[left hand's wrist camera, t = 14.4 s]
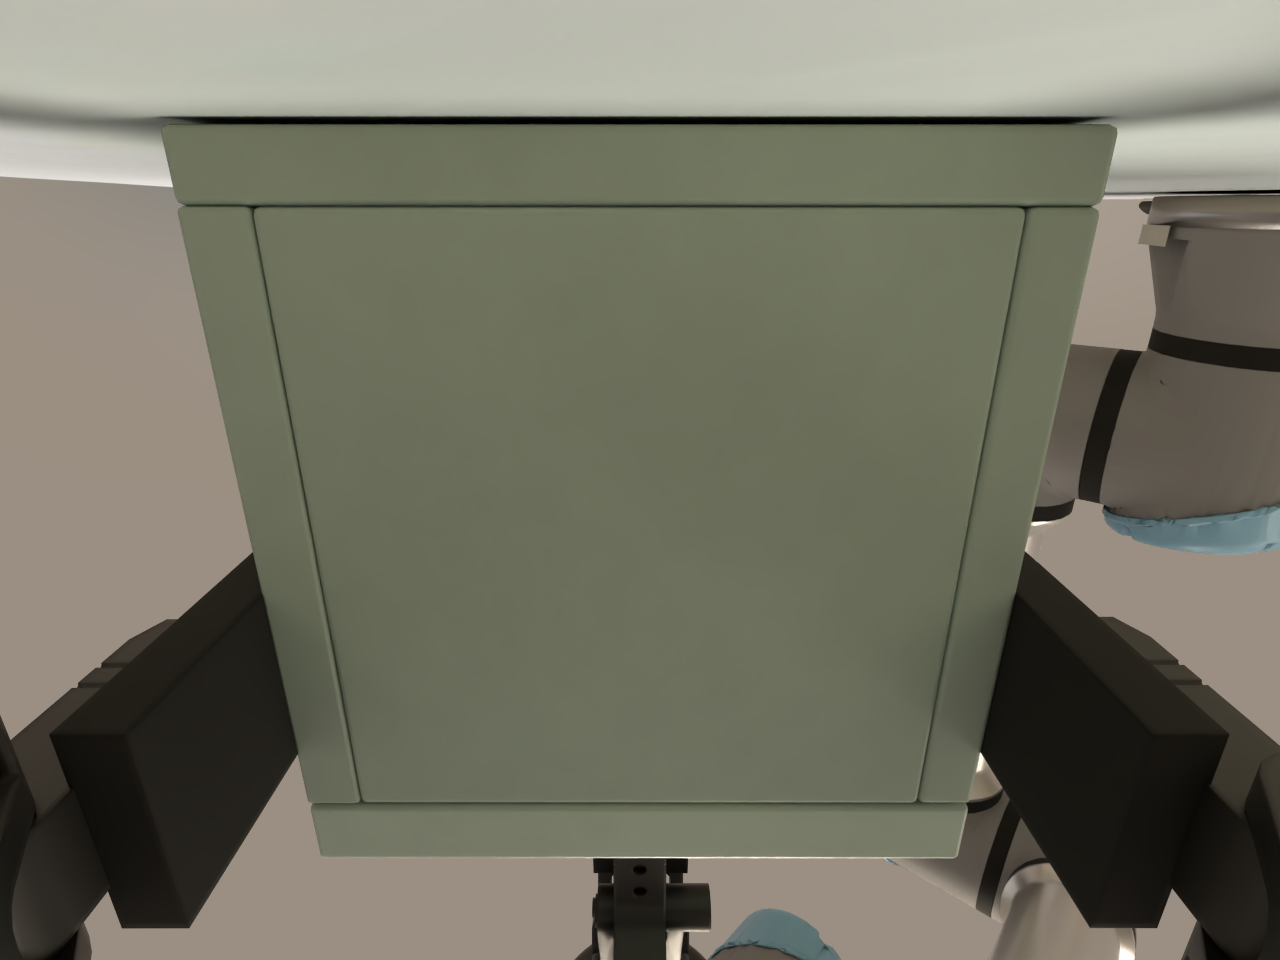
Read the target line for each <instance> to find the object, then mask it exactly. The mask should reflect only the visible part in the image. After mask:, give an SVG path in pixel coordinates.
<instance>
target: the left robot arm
mask: <svg viewBox="0 0 1280 960" xmlns="http://www.w3.org/2000/svg"><path fill="white" fill-rule="evenodd" d="M101 664H102V665H101V668H95V669H94V670H93V671H92V672H90V673H89V674H88V675H87V676H86V677H85V678H83V679H82V680H81V681H80V682H79V683H78V687H77V688H72V689H70V690H69V691H68V692H67V693H66V694H64V695H63V696H62V697H61V698H60V699H59V700H57V701H56V702H55V703H54V704H53V705H51V706H50V707H49V708H48V709H47V710H46V711H44V712H43V713H42V714H41V715H40V716H39V717H37V718H36V719H35V720H34V721H33V722H31V723H30V724H29V725H28V726H27V727H26V728H24V729H23V730H22V731H21V732H20V733H19V734H17V735H16V736H15V737H14V738H13V739H11V740H10V738H9V736H8V733H7V731H6V729H5V726H4V723H3V721H2V719H1V716H0V960H91V954H92V950H91V944H90V938H89V934H88V932H87V929H86V927H85V924H84V921H85V920H86V918H87V917H88V916H89V915H90V913H91V912H92V911H93V909H94V908H95V907H96V906H97V904H98V903H99V902H100V900H101V899H102V898H103V897H104V895H105V894H106V893H107V891H108V892H109V895H110V898H111V900H112V903H113V906H114V908H115V911H116V914H117V916H118V919H119V922H120V924H121V927H122V928H190V926H191V924H192V923H193V921H194V920H195V918H196V916H197V915H198V913H199V912H200V910H201V908H202V907H203V905H204V904H205V902H206V900H207V899H208V897H209V896H210V894H211V892H212V891H213V889H214V888H215V886H216V884H217V883H218V881H219V880H220V878H221V876H222V875H223V873H224V872H225V870H226V868H227V867H228V865H229V864H230V862H231V860H232V859H233V857H234V856H235V854H236V852H237V851H238V849H239V847H240V846H241V844H242V843H243V841H244V839H245V838H246V836H247V835H248V833H249V831H250V830H251V828H252V827H253V825H254V823H255V822H256V820H257V819H258V817H259V815H260V814H261V812H262V811H263V809H264V807H265V806H266V804H267V802H268V801H269V799H270V798H271V796H272V795H273V793H274V791H275V790H276V788H277V787H278V785H279V783H280V782H281V780H282V779H283V777H284V775H285V774H286V772H287V771H288V769H289V767H290V766H291V764H292V762H293V761H294V759H295V758H296V756H297V754H298V751H297V747H296V742H295V738H294V733H293V729H292V724H291V720H290V715H289V711H288V706H287V702H286V697H285V693H284V688H283V684H282V679H281V675H280V670H279V666H278V661H277V657H276V652H275V648H274V643H273V638H272V634H271V629H270V625H269V620H268V616H267V611H266V607H265V602H264V598H263V594H262V591H261V586H260V582H259V577H258V573H257V568H256V564H255V559H254V555H253V552H252V553H251V554H250V555H249V556H248V557H247V558H246V559H245V560H244V561H242V562H241V563H240V564H239V565H238V566H237V567H236V568H235V569H233V570H232V571H231V572H230V573H229V574H228V575H227V576H226V577H225V578H223V579H222V580H221V581H220V582H219V583H218V584H217V585H216V586H215V587H213V588H212V589H211V590H210V591H209V592H208V593H207V594H206V595H204V596H203V597H202V598H201V599H200V600H199V601H198V602H197V603H195V604H194V605H193V606H192V607H191V608H190V609H189V610H188V611H187V612H185V613H184V614H183V615H182V616H181V617H180V618H179V619H167V620H165V621H163V622H161V623H159V624H157V625H156V626H154V627H152V628H150V629H148V630H146V631H144V632H142V633H141V634H139V635H137V636H135V637H133V638H131V639H129V640H128V641H127V642H126V643H125V644H123V645H122V646H121V647H120V648H119V649H118V650H116V651H115V652H114V653H113V654H112V655H110V656H109V657H108V658H107V659H106V660H105V661H103V662H102V663H101ZM980 753H981V754H982V756H983V757H984V759H985V761H986V762H987V764H988V765H989V767H990V769H991V770H992V772H993V773H994V775H995V777H996V778H997V780H998V781H999V783H1000V785H1001V786H1002V788H1003V789H1004V791H1005V793H1006V794H1007V796H1008V797H1009V799H1010V801H1011V802H1012V804H1013V805H1014V807H1015V809H1016V810H1017V812H1018V813H1019V815H1020V817H1021V818H1022V820H1023V821H1024V823H1025V825H1026V826H1027V828H1028V830H1029V831H1030V833H1031V834H1032V836H1033V838H1034V839H1035V841H1036V842H1037V844H1038V846H1039V847H1040V849H1041V850H1042V852H1043V854H1044V855H1045V857H1046V858H1047V860H1048V862H1049V863H1050V865H1051V866H1052V868H1053V870H1054V871H1055V873H1056V874H1057V876H1058V878H1059V879H1060V881H1061V882H1062V884H1063V886H1064V887H1065V889H1066V890H1067V892H1068V894H1069V895H1070V897H1071V899H1072V900H1073V902H1074V903H1075V905H1076V907H1077V908H1078V910H1079V911H1080V913H1081V915H1082V916H1083V918H1084V919H1085V921H1086V923H1087V924H1088V926H1089V927H1090V928H1157V927H1158V924H1159V921H1160V919H1161V916H1162V913H1163V911H1164V908H1165V906H1166V903H1167V900H1168V898H1169V895H1170V892H1171V890H1172V889H1173V890H1174V891H1175V892H1176V894H1177V895H1178V896H1179V898H1180V899H1181V900H1182V901H1183V903H1184V904H1185V905H1186V907H1187V908H1188V909H1189V910H1190V912H1191V913H1192V914H1193V915H1194V917H1195V918H1196V919H1197V922H1196V924H1195V927H1194V930H1193V932H1192V934H1191V937H1190V939H1189V942H1188V944H1187V947H1186V949H1185V952H1184V954H1183V957H1182V959H1181V960H1280V746H1279V745H1278V744H1277V743H1276V742H1275V741H1273V740H1272V739H1271V738H1270V737H1269V736H1267V735H1266V734H1265V733H1264V732H1263V731H1262V730H1260V729H1259V728H1258V727H1257V726H1256V725H1255V724H1253V723H1252V722H1251V721H1250V720H1249V719H1247V718H1246V717H1245V716H1244V715H1243V714H1241V713H1240V712H1239V711H1238V710H1237V709H1235V708H1234V707H1233V706H1232V705H1231V704H1230V703H1228V702H1227V701H1226V700H1225V699H1224V698H1222V697H1221V696H1220V695H1219V694H1218V693H1217V692H1215V691H1214V690H1213V689H1212V688H1210V687H1209V686H1208V685H1202V680H1201V679H1200V678H1199V677H1198V676H1196V675H1195V674H1194V673H1193V672H1192V671H1190V670H1189V669H1188V668H1187V667H1186V666H1185V665H1179V663H1178V660H1177V659H1176V658H1175V657H1174V656H1173V655H1171V654H1170V653H1169V652H1168V651H1167V650H1166V649H1164V648H1163V647H1162V646H1161V645H1160V644H1158V643H1157V642H1156V641H1155V640H1154V639H1152V638H1151V637H1150V636H1148V635H1146V634H1144V633H1142V632H1140V631H1139V630H1137V629H1135V628H1133V627H1131V626H1129V625H1127V624H1125V623H1123V622H1121V621H1120V620H1118V619H1116V618H1114V617H1098V616H1097V615H1096V614H1095V613H1094V612H1093V611H1092V610H1090V609H1089V608H1088V607H1087V606H1086V605H1085V604H1084V603H1083V602H1081V601H1080V600H1079V599H1078V598H1077V597H1076V596H1075V595H1074V594H1072V593H1071V592H1070V591H1069V590H1068V589H1067V588H1066V587H1065V586H1064V585H1062V584H1061V583H1060V582H1059V581H1058V580H1057V579H1056V578H1055V577H1054V576H1052V575H1051V574H1050V573H1049V572H1048V571H1047V570H1046V569H1045V568H1043V567H1042V566H1041V565H1040V564H1039V563H1038V562H1037V561H1036V560H1035V559H1033V558H1032V557H1031V556H1030V555H1029V554H1028V553H1027V552H1026V551H1025V553H1024V557H1023V562H1022V566H1021V571H1020V575H1019V580H1018V585H1017V589H1016V594H1015V598H1014V603H1013V607H1012V612H1011V616H1010V621H1009V625H1008V630H1007V634H1006V639H1005V643H1004V648H1003V652H1002V657H1001V661H1000V666H999V670H998V675H997V679H996V684H995V688H994V693H993V698H992V702H991V707H990V711H989V716H988V720H987V725H986V729H985V734H984V738H983V743H982V747H981V752H980Z"/></svg>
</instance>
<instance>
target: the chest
mask: <svg viewBox="0 0 1280 960" xmlns="http://www.w3.org/2000/svg"><path fill="white" fill-rule="evenodd" d="M161 134H162V139H163V143H164V148H165V152H166V157H167V161H168V166H169V170H170V175H171V179H172V184H173V188H174V193H175V197H176V199H177V201H178V202H179V203H181V204H183V205H186V206H183V207H181V208H179V209H178V217H179V221H180V226H181V230H182V235H183V239H184V244H185V248H186V253H187V257H188V262H189V266H190V271H191V275H192V280H193V284H194V289H195V293H196V298H197V302H198V307H199V311H200V316H201V320H202V325H203V329H204V334H205V338H206V343H207V347H208V352H209V356H210V361H211V365H212V370H213V374H214V379H215V383H216V388H217V392H218V397H219V401H220V406H221V410H222V415H223V419H224V424H225V428H226V433H227V437H228V442H229V446H230V451H231V455H232V460H233V464H234V469H235V474H236V478H237V482H238V487H239V492H240V496H241V501H242V505H243V510H244V514H245V518H246V523H247V528H248V532H249V537H250V541H251V546H252V550H253V555H254V559H255V564H256V568H257V573H258V577H259V582H260V586H261V591H262V594H263V598H264V602H265V607H266V611H267V616H268V620H269V625H270V629H271V634H272V638H273V643H274V648H275V652H276V657H277V661H278V666H279V670H280V675H281V679H282V684H283V688H284V693H285V697H286V702H287V706H288V711H289V715H290V720H291V724H292V729H293V733H294V738H295V742H296V747H297V751H298V757H299V762H300V766H301V771H302V775H303V780H304V784H305V789H306V793H307V798H308V801H309V802H310V803H358V802H359V801H360V800H361V798H362V800H363V801H365V802H914V801H916V800H917V797H918V799H919V800H920V801H922V802H967V801H969V800H970V797H971V792H972V788H973V783H974V779H975V774H976V770H977V765H978V761H979V756H980V752H981V747H982V743H983V738H984V734H985V729H986V725H987V720H988V716H989V711H990V707H991V702H992V698H993V693H994V688H995V684H996V679H997V675H998V670H999V666H1000V661H1001V657H1002V652H1003V648H1004V643H1005V639H1006V634H1007V630H1008V625H1009V621H1010V616H1011V612H1012V607H1013V603H1014V598H1015V594H1016V589H1017V585H1018V580H1019V575H1020V571H1021V566H1022V562H1023V557H1024V553H1025V548H1026V544H1027V539H1028V535H1029V530H1030V526H1031V521H1032V517H1033V512H1034V508H1035V503H1036V499H1037V494H1038V490H1039V485H1040V481H1041V476H1042V472H1043V467H1044V463H1045V458H1046V453H1047V449H1048V444H1049V440H1050V435H1051V431H1052V426H1053V422H1054V417H1055V413H1056V408H1057V404H1058V399H1059V395H1060V390H1061V386H1062V381H1063V377H1064V372H1065V368H1066V363H1067V359H1068V354H1069V350H1070V345H1071V340H1072V336H1073V331H1074V327H1075V322H1076V318H1077V313H1078V309H1079V304H1080V300H1081V295H1082V291H1083V286H1084V281H1085V277H1086V273H1087V268H1088V264H1089V259H1090V255H1091V250H1092V246H1093V241H1094V237H1095V232H1096V227H1097V223H1098V218H1099V212H1098V210H1097V209H1095V208H1093V207H1091V206H1094V205H1096V204H1099V203H1100V202H1101V200H1102V199H1103V196H1104V192H1105V187H1106V183H1107V178H1108V174H1109V169H1110V165H1111V160H1112V156H1113V151H1114V147H1115V142H1116V138H1117V128H1116V127H1114V126H1112V125H1110V124H169V125H167V126H165V127H163V128H162V132H161Z"/></svg>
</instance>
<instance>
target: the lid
mask: <svg viewBox="0 0 1280 960" xmlns="http://www.w3.org/2000/svg"><path fill="white" fill-rule="evenodd" d="M967 812H968V808H967V805H966V803H965V802H922V801H920V800H919V799H918V797H917V800H916V801H914V802H365V801H363V800H362V798H361V800H360V801H359V802H358V803H312V806H311V813H312V817H313V822H314V826H315V831H316V835H317V839H318V844H319V849H320V853H321V856H322V857H325V858H955V857H957V856H958V852H959V848H960V843H961V839H962V834H963V830H964V825H965V821H966V816H967Z"/></svg>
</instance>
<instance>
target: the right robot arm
mask: <svg viewBox="0 0 1280 960" xmlns="http://www.w3.org/2000/svg"><path fill="white" fill-rule="evenodd" d="M1139 208H1140V209H1141V210H1142V211H1143V212H1145V213H1146V214H1149V217H1148V221H1147V224H1143V226H1142V230H1141V234H1140V238H1139V242H1138V244H1144V245H1149V251H1150V260H1151V268H1152V277H1153V286H1154V295H1155V304H1156V316H1155V321H1154V325H1153V329H1152V333H1151V337H1150V340H1149V344H1148V348H1147V351H1133V350H1123V349H1115V348H1105V347H1095V346H1085V345H1075V344H1071V345H1070V350H1069V354H1068V359H1067V363H1066V368H1065V372H1064V377H1063V381H1062V386H1061V390H1060V395H1059V399H1058V404H1057V408H1056V413H1055V417H1054V422H1053V426H1052V431H1051V435H1050V440H1049V444H1048V449H1047V453H1046V458H1045V463H1044V467H1043V472H1042V476H1041V481H1040V485H1039V490H1038V494H1037V499H1036V503H1035V508H1034V512H1033V517H1032V521H1031V526H1030V530H1029V535H1028V539H1027V544H1026V548H1025V551H1026V552H1027V553H1028V554H1029V555H1030V556H1031V557H1032V558H1033V559H1035V560H1036V561H1037V562H1038V558H1039V554H1040V550H1041V546H1042V541H1043V537H1044V533H1045V531H1046V530H1047V529H1048V528H1050V527H1052V526H1054V525H1056V524H1058V523H1061V522H1063V521H1065V520H1066V519H1068V518H1069V517H1070V515H1071V512H1072V509H1073V504H1074V501H1075V499H1081V500H1086V501H1091V502H1095V503H1100V504H1103V505H1104V507H1103V510H1102V512H1103V514H1104V516H1105V521H1106V523H1107V524H1108V526H1109V527H1111V528H1112V529H1113V530H1114V531H1116V532H1117V533H1119V534H1121V535H1127V536H1131V537H1132V538H1133V539H1134V540H1136V541H1139V542H1142V543H1145V544H1149V545H1152V546H1157V547H1161V548H1167V549H1172V550H1179V551H1186V552H1194V553H1205V554H1249V553H1255V552H1262V551H1269V550H1274V549H1277V548H1280V195H1210V196H1161V197H1154V198H1153V200H1152V201H1143V202H1141V203H1140V204H1139ZM965 803H966V805H967V808H968V812H967V816H966V821H965V825H964V830H963V834H962V839H961V843H960V848H959V852H958V856H957V857H955V858H884V859H885V860H886V861H888V862H889V863H891V864H894V865H900V866H902V867H904V868H905V869H907V870H909V871H910V872H912V873H914V874H916V875H917V876H919V877H921V878H923V879H924V880H926V881H928V882H930V883H931V884H933V885H935V886H937V887H938V888H940V889H942V890H944V891H945V892H947V893H949V894H951V895H952V896H954V897H956V898H958V899H959V900H961V901H963V902H964V903H966V904H968V905H970V906H971V907H973V908H975V909H977V910H978V911H980V912H982V913H984V914H986V915H987V916H989V917H991V918H992V919H994V920H996V921H997V922H999V923H1001V924H1002V925H1003V927H1002V929H1001V931H1000V934H999V936H998V938H997V940H996V943H995V945H994V947H993V949H992V951H991V954H990V956H989V958H988V960H1134V959H1135V950H1136V928H1090V927H1089V926H1088V924H1087V923H1086V921H1085V919H1084V918H1083V916H1082V915H1081V913H1080V911H1079V910H1078V908H1077V907H1076V905H1075V903H1074V902H1073V900H1072V899H1071V897H1070V895H1069V894H1068V892H1067V890H1066V889H1065V887H1064V886H1063V884H1062V882H1061V881H1060V879H1059V878H1058V876H1057V874H1056V873H1055V871H1054V870H1053V868H1052V866H1051V865H1050V863H1049V862H1048V860H1047V858H1046V857H1045V855H1044V854H1043V852H1042V850H1041V849H1040V847H1039V846H1038V844H1037V842H1036V841H1035V839H1034V838H1033V836H1032V834H1031V833H1030V831H1029V830H1028V828H1027V826H1026V825H1025V823H1024V821H1023V820H1022V818H1021V817H1020V815H1019V813H1018V812H1017V810H1016V809H1015V807H1014V805H1013V804H1012V802H1011V801H1010V799H1009V797H1008V796H1007V794H1006V793H1005V791H1004V789H1003V788H1002V786H1001V785H1000V783H999V781H998V780H997V778H996V777H995V775H994V773H993V772H992V770H991V769H990V767H989V765H988V764H987V762H986V761H985V759H984V757H983V756H982V754H981V753H980V756H979V761H978V765H977V770H976V774H975V779H974V783H973V788H972V792H971V797H970V800H969V801H967V802H965ZM593 865H594V873H598V894H596V898H593V905H592V917H593V925H592V945H590V946H589V947H588V948H586V949H585V950H584V951H583V952H582V953H581V954H580V955H579V956H578V957H577V958H576V959H575V960H706V959H705V958H704V957H703V956H702V955H701V954H700V953H699V952H698V951H697V950H696V949H694V948H693V947H692V946H690V945H689V932H710V931H711V902H710V890H709V885H708V883H683V873H687V871H688V858H593ZM666 874H667V875H668V876H669V883H666ZM613 875H614V883H612V876H613ZM708 960H841V959H840V957H839V956H838V954H837V953H836V951H835V950H834V949H833V948H832V947H830V946H828V945H826V944H824V943H823V941H822V940H821V939H820V938H819V932H818V931H817V930H816V929H815V928H814V927H812V926H811V925H810V924H809V923H807V922H806V921H804V920H803V919H801V918H799V917H798V916H796V915H794V914H791V913H789V912H786V911H783V910H778V909H762V910H758V911H756V912H754V913H752V914H751V915H749V916H748V917H747V918H746V919H745V920H744V921H743V922H742V924H741V925H740V926H739V927H738V928H737V929H736V930H735V931H734V933H733V934H732V935H731V936H730V937H729V938H728V939H727V940H726V942H725V943H724V944H723V945H722V946H720V947H719V948H717V949H716V950H715V952H714V953H713V955H711V956H710V957H709V959H708Z"/></svg>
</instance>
